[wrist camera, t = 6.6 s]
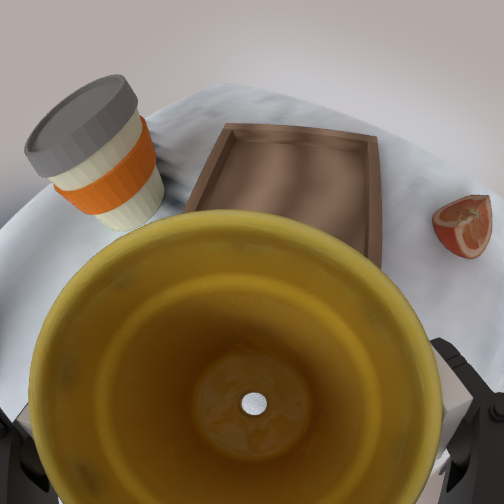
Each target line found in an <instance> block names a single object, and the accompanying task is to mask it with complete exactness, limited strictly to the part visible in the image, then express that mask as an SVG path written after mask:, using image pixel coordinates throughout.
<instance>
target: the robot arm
mask: <svg viewBox="0 0 504 504" xmlns="http://www.w3.org/2000/svg"><path fill="white" fill-rule="evenodd" d="M429 342H430V344H431V347H432V350H433V352H434V355H435V359H436V362H437V367H438V371H439V375H440V382H441V389H442V400H443V416H442V429H441V436H440V442H439V448H438V452H437V455H436V459H435V460H437V459H439V458H440V457H441V455H442V454H443V452H444V451H445V449H446V448H447V450H448V452H449V454H450V457H449V458H448V460H447V461H446V463H445V464H444V465H443V467H442V468H441V470H440V473H439V475H442V474H443V472H444V471H445V470H446V471H445V476H444V481H443V485H442V490H441V494H440V498H439V501H438V504H504V393H502V392H498V393H494V392H493V391H492V390H491V389H490V388H489V387H488V385H487V384H486V383H485V382H484V380H483V379H482V378H481V377H480V376H479V374H478V373H477V372H476V371H475V370H474V369H473V367H472V366H471V365H470V364H469V363H467V360H466V359H465V358H464V357H463V356H461V355H460V352H459V351H458V350H457V349H456V348H455V347H454V346H453V345H452V344H451V343H449V342H447V341H445V340H444V339H442V338H440V337H439V338H436V339H433V340H430V341H429ZM0 504H59V501H58V495H57V493H56V492H55V490H54V488H53V486H52V485H51V483H50V481H49V479H48V477H47V475H46V473H45V470H44V467H43V465H42V463H41V461H40V458H39V455H38V452H37V448H36V445H35V441H34V438H33V434H32V428H31V423H30V415H29V402H28V403H27V404H26V406H25V407H24V408H23V410H22V411H21V412H20V414H19V415H18V416H17V418H16V419H15V420H14V422H13V423H12V422H11V421H10V420H9V418H8V417H7V416H6V414H5V413H4V412H3V410H2V409H1V408H0Z"/></svg>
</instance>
